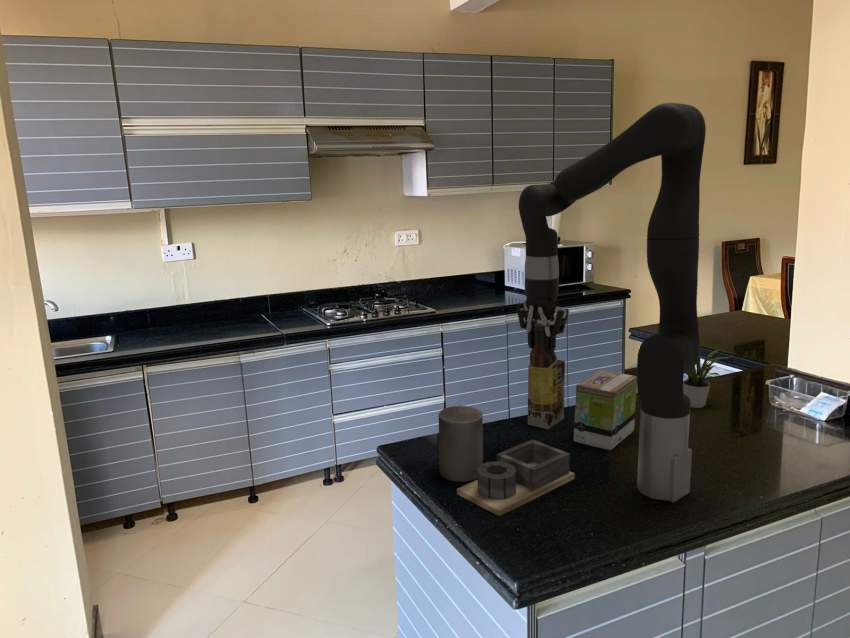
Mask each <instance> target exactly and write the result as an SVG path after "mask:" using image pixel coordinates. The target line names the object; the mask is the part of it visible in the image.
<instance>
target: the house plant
mask: <svg viewBox="0 0 850 638" xmlns="http://www.w3.org/2000/svg"><path fill="white" fill-rule="evenodd" d="M719 351H720V349H716V350H713V351H711V352H710V353H708V355H707V356H706V357H705V358H704V361H703V363H702V365H701V361H702V360H701V355H700V356H699V360H698V362H697V364H696V365H695V367H694V368H693V369H691V370H690V371H688V372H687V373H685V374H686V375H687V377H686V376H685V374H684V376H683V378H685V379H683V394H685V395H686V396H688V397H689V399H690V402H691V407H690V408H693V409H694V408H695V409H702V408H704V406H705V407H706V404H707V400H708V395H709V391H710V387H711V383H710V382H709V381H706V379H716V380H719V379H718V378H717V377H715V376H713V375H717V376H719V377H721V375H720V373H718V372H711V373H709V372H710V371H711V370H712V369H713V368H714V367H716V366H717V364H716V365H713V364H714V363H715V362H717V361H719V360H721V359H722V360H723V359H729V357H728V356H726V357H725V356H724V357H722V356H721V357H720V356H717V357H715V358H711V357H713V356H714V354H715V353H716V352H719ZM710 358H711V359H710ZM711 375H712V376H711Z"/></svg>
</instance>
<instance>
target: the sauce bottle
mask: <svg viewBox="0 0 850 638" xmlns="http://www.w3.org/2000/svg"><path fill="white" fill-rule="evenodd" d="M550 329H551V326H550ZM534 332H535V341H534V342H535V345H534V347H533V349H532V348H531V350H530V353H529V365H530V401H531V408H532V409H534V410H536V411H541V412H545V411H552V410H554V409H556V407H557V403H556V402H557V360H558V358H557V354H556V352H555V350H554V351H553V352H547V351H546V336H547V335H546V331H545V327H543V325H542V322H539V323H538V324H534Z"/></svg>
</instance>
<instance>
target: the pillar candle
mask: <svg viewBox="0 0 850 638" xmlns="http://www.w3.org/2000/svg"><path fill="white" fill-rule="evenodd" d="M483 413H484V412H483V411H482V410H479V409H478V408H476V407H473V406H466V405H456V406H449V407H445V408H443V409H441V410H440V411H439V412H438V461H439V464H438V466H439V467H438V468H439V469H438V471H439V475H441V477H442V478H444V479H446V480H448V481H451V482H456V483H457V482H459V483H460V482H461V483H463V482H470V481H471V482H473V481H476V480H478V467H479V465H482V464H484V438H483V437H484V435H483V434H484V432H483V430H484V429H483V428H484V426H483V423H484V420H483V419H484V418H483V417H484V415H483Z"/></svg>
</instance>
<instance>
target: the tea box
mask: <svg viewBox="0 0 850 638" xmlns="http://www.w3.org/2000/svg"><path fill="white" fill-rule="evenodd" d="M575 388H576V389H575V409H574V428H573V442H575V443H578V444H583V445H586V446H590V447H594V448H599V449H603V450H607V451H612V450H613V449H614V448H615V447H616V446H617V445H618V444H620V443H621V442H622V441H623V440H625V439H626V438H627V437H628V436H629V435H631V434H632V433H633V432H634V430H635V424H636V423H635V422H636V421H635V417H636V405H637V404H636V402H637V375H631V374H627V373H626V374H624V373H620V372H616V371H609V370H601V369H600V370H598V371H597V372H595V373H593V374H592V375H590V376H588V377H587V378H586V379H584V380H582V381H580V382H578V383H577V384H576V387H575Z"/></svg>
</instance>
